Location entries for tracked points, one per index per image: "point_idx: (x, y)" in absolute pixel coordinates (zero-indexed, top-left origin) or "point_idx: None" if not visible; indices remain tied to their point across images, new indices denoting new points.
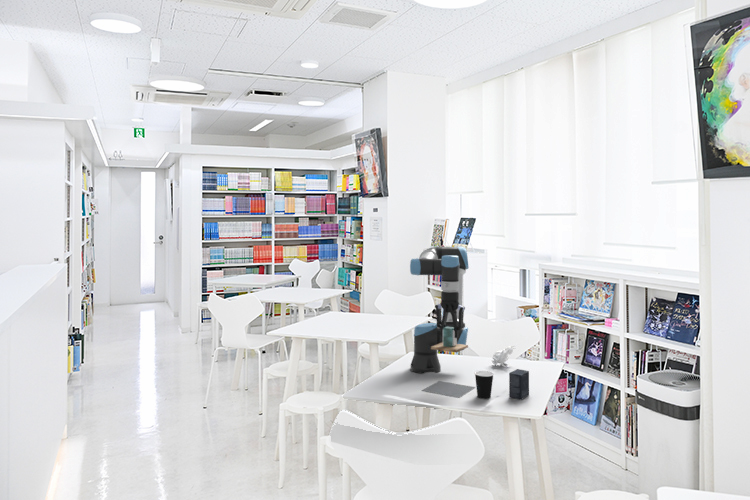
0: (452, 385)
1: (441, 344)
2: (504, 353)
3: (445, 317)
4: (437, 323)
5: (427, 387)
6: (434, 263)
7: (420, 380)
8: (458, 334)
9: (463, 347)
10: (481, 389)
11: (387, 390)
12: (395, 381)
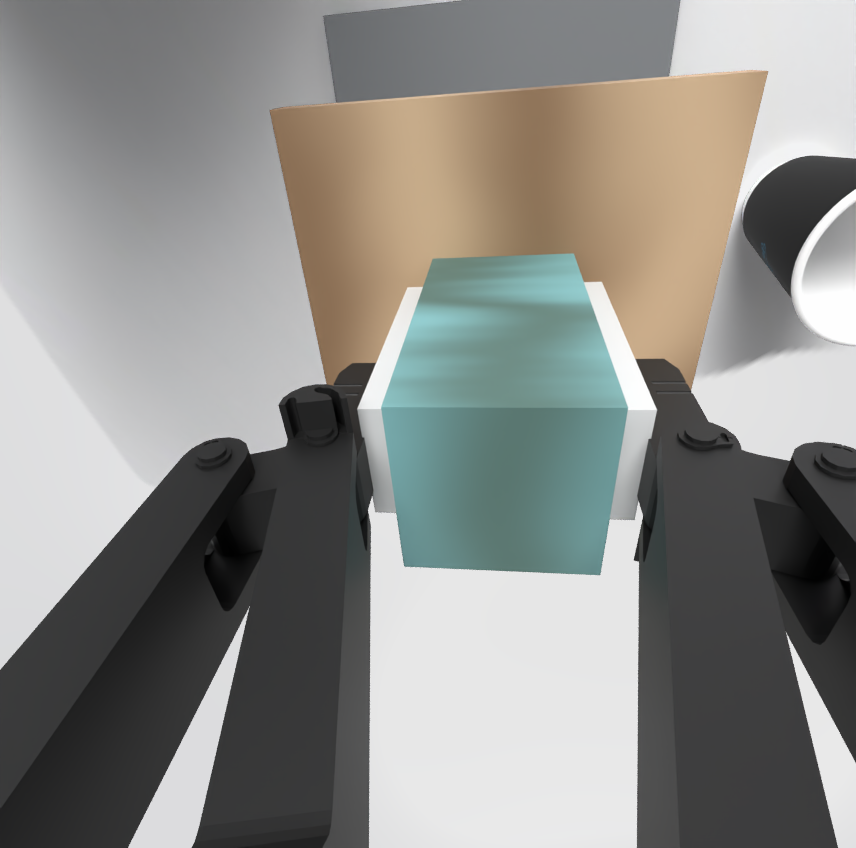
0: (480, 76)
1: (364, 303)
2: None
3: (362, 765)
4: (215, 592)
5: None
6: None
7: (176, 53)
8: (688, 393)
9: (716, 274)
10: (809, 282)
11: (214, 380)
12: (95, 205)
